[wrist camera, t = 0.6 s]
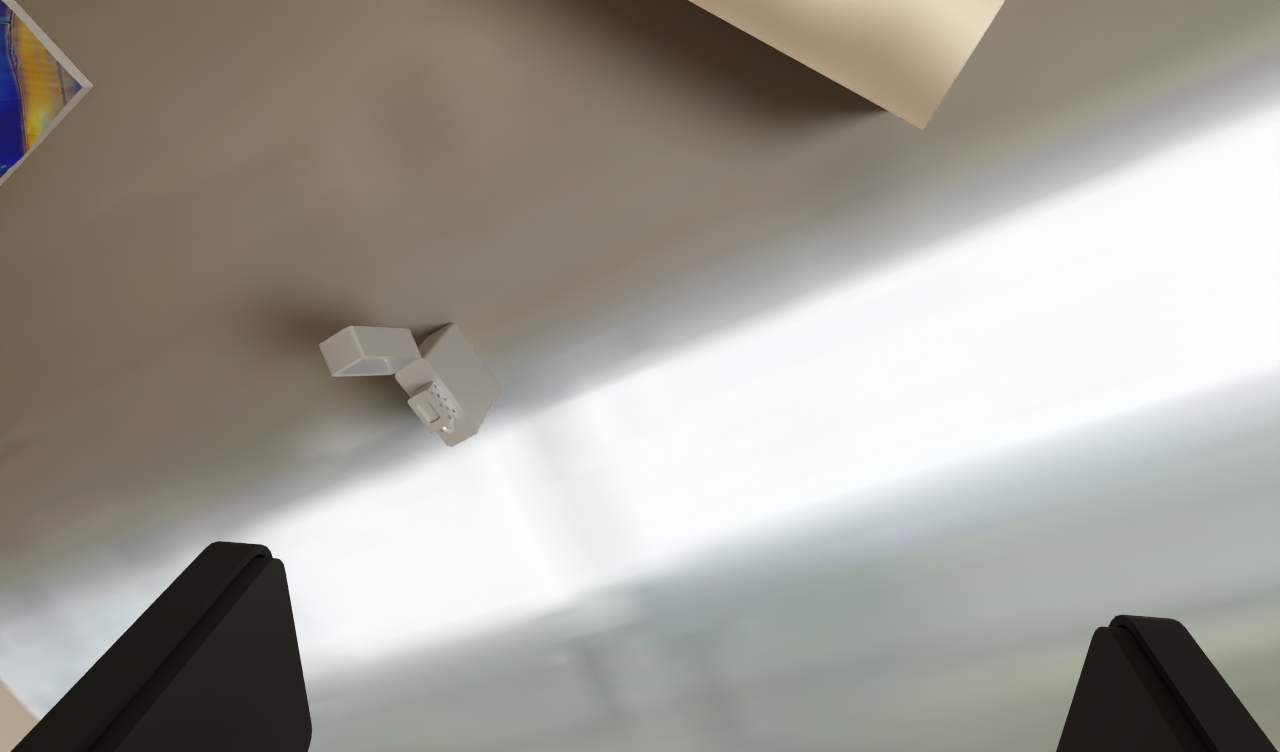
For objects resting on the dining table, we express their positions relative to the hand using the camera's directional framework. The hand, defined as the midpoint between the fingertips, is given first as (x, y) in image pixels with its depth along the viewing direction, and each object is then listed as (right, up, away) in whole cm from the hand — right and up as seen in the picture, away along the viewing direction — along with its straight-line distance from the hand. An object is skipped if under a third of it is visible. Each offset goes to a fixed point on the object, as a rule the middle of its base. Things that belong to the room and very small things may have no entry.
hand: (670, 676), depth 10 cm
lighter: (-10, +5, +30) cm, 32 cm away
